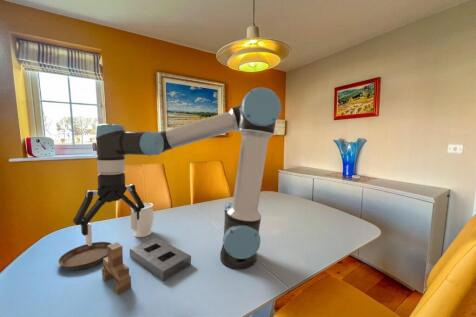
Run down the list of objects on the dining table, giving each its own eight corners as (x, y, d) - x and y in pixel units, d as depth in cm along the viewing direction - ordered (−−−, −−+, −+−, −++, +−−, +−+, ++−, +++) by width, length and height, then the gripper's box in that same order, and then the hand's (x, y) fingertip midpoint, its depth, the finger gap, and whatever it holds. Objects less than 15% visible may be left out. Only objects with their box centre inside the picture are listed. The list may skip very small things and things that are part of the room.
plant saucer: (45, 274, 72) (44, 266, 71) (80, 248, 89) (80, 242, 89) (96, 272, 73) (96, 264, 73) (121, 247, 90) (121, 240, 90)
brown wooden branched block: (131, 287, 65) (129, 249, 64) (118, 294, 62) (116, 254, 61) (114, 272, 73) (113, 238, 72) (102, 278, 70) (100, 242, 69)
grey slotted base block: (190, 264, 78) (190, 255, 78) (163, 281, 68) (163, 271, 68) (156, 245, 92) (156, 237, 92) (129, 256, 83) (129, 248, 82)
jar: (145, 239, 97) (144, 209, 96) (126, 237, 99) (125, 208, 98) (158, 230, 108) (157, 203, 106) (141, 228, 110) (140, 201, 108)
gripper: (143, 168, 77) (144, 221, 78) (57, 175, 57) (61, 247, 58) (154, 170, 72) (154, 226, 74) (65, 179, 52) (68, 256, 54)
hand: (113, 236), depth 66 cm, fingers open, 13 cm apart
